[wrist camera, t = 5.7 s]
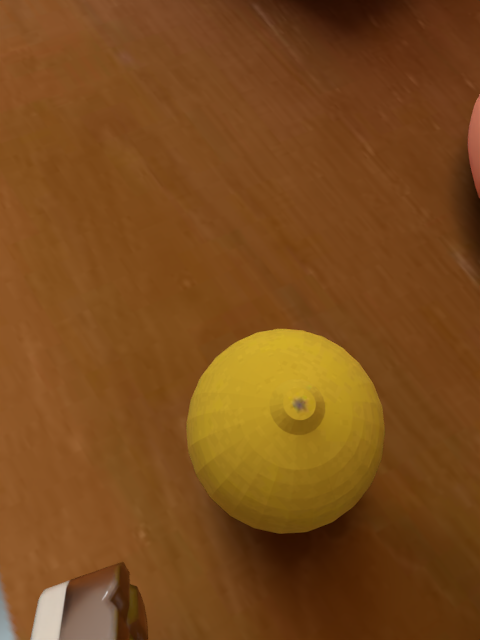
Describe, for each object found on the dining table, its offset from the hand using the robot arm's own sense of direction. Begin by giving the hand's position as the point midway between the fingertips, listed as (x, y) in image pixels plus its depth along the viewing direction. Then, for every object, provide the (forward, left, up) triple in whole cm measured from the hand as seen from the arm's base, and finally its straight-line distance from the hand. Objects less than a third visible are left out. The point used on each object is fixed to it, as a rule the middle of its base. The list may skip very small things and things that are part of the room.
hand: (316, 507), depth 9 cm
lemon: (+1, +1, -7) cm, 7 cm away
